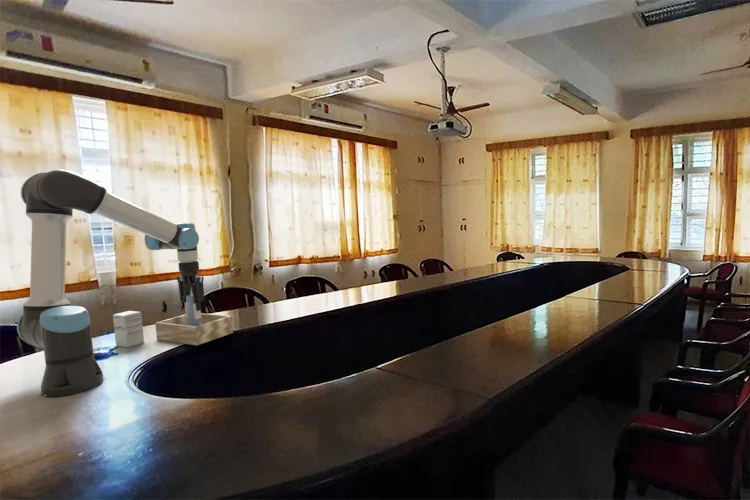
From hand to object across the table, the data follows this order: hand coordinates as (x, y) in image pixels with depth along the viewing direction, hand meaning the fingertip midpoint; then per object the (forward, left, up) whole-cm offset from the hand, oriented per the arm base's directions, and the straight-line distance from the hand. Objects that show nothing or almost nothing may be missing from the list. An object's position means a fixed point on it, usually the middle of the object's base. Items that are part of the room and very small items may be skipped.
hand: (193, 317), depth 177 cm
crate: (0, 0, -8) cm, 8 cm away
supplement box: (-17, +17, -8) cm, 25 cm away
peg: (0, 0, -4) cm, 4 cm away
